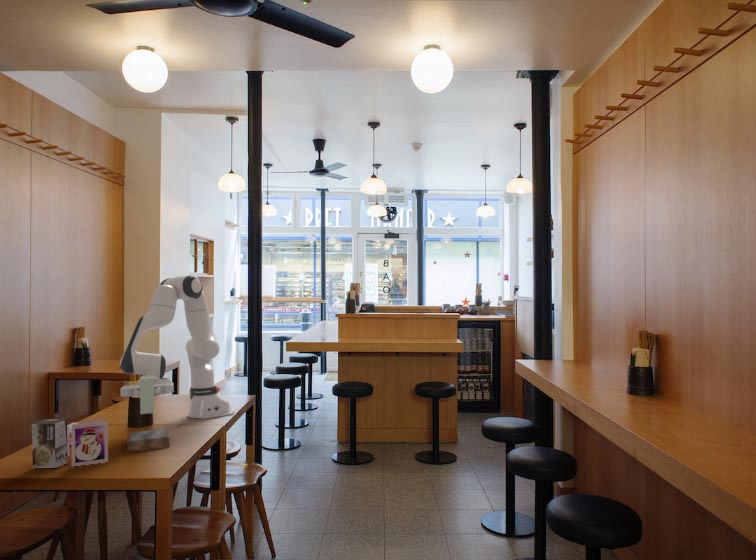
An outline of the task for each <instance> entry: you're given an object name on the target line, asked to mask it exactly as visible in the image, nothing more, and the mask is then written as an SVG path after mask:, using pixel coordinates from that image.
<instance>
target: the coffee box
mask: <svg viewBox="0 0 756 560" xmlns="http://www.w3.org/2000/svg"><path fill="white" fill-rule="evenodd" d="M67 425H68V418H47V419H46V418H43V419H42V420H41V419H40V420H38V421H36V422H33V423H31V437H32V438H31V441H32V442H31V447H32V450H31V451H32V455H31V456H32V468H33V467H35V468H57V467H59V466H61V465H63V466H65V465H64V464H66V463H67V464H68V457H67ZM67 464H66V465H67ZM61 467H62V466H61ZM59 468H60V467H59ZM57 469H58V468H57Z"/></svg>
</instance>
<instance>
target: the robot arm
mask: <svg viewBox="0 0 756 560" xmlns="http://www.w3.org/2000/svg"><path fill="white" fill-rule="evenodd" d="M178 300H182V301H183V304H184V305H183V307H184V314H185V315H184V316H185V320H186V321H185V322H186V328H187V330H188V332H189V334H190V336H191V338H190V339H188V340H187V342H186V344H185V351H186V353H187V359H188V364H189V370H190V387H189V388H190V389H189V399H190V402H189V410H188V413H187V417H188V418H192V419H202V420H204V419H205V420H206V419H211V418H213V419H214V418H219V417H225V416H232V415H234V414H235V412H236V411H235V409H234V408H233V407H231V403H230V401H229V399H228V398H226V396H224V395H222V394H221V393H219V392H220V390H221V389H220V387H219V386H217V385H215V369H214V367H213V364H212V359H215V358H216V357H217V356H218V355H219V353H220V344H219V343H218V341H217V339H216V337H215V334H214V331H213V328H212V324H211V319H210V313H209V306H208V305H209V304H208V302H207V298H206V294H205V291H204V290H203V283H202V281H201V279H200V277H198V276H196V275H178V276H175V277H171V278H166V279H163V280H162V281H161V282H160V283H159V285H158V286H157V287H155V290H154V293H153V294H152V297H151V302H150V305H149V306H150V307H149V309H148V311H147V313H146V314H145V315H143V316H140V318H139V319H138V321H137V323H136V324H135V327H134V330H133V332H132V335H131V336H130V339H129V342H128V344H127V346H126V349H125V351H124V353H123V354H122V356H121V358H120V362H119V369H120V370H121V371H122V372H123V374H125V375H142V376H141V377H150V376H154V397H156V396H160V395H166V394H173V393H174V392H175V391H174V390H175V388H174V384H175V383H174V382H173V381H172V380H171V379H170V378H169V377H165V372H166V367H167V366H166V365H167V363H166V362H167V361H166V358H165V357H164V355H163V354H162V353H161V354H160V353H155V352H154V353H152V352H150V353H149V352H143V351H142V352H140V351H138V350H137V349H138V347H139V345H140V342H141V340H142V337H143V335H144V334H145V333H146V332H149V331H152V330H156V329H160V328H164V327H167V326H168V325H170V324H171V323H172V322H173V320H174V318H175V314H176V309H177V301H178ZM137 396H138V397H140V378H139V379H138V381H137V384H130V385H129V384H128V385H123V386H122V387H120V397H122V398H127V397H137Z"/></svg>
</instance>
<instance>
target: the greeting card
mask: <svg viewBox="0 0 756 560" xmlns="http://www.w3.org/2000/svg"><path fill="white" fill-rule="evenodd" d="M76 423H77V424H73V425H72V444H71V468H74V467H73V466H79V467H82V466H81V465H86V466H90V465H89V464H94V465H99V464H98V463H101V464H106V463H105V462H108V463H109V421H108V420H104V417H100V418H96V419H91V420H87V421H83V422H76Z"/></svg>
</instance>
